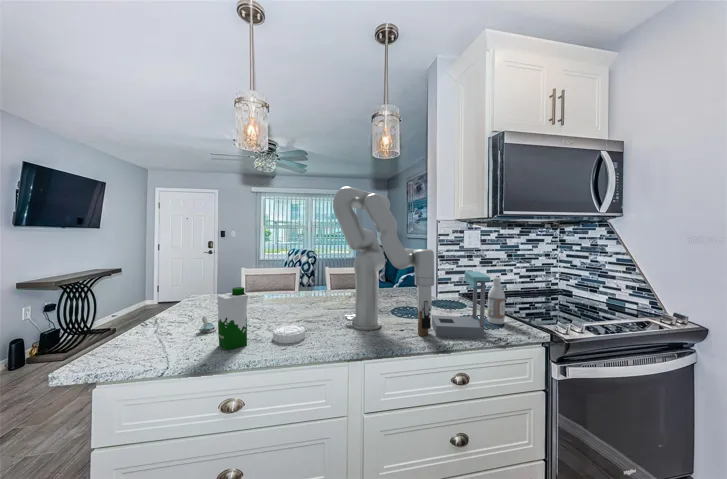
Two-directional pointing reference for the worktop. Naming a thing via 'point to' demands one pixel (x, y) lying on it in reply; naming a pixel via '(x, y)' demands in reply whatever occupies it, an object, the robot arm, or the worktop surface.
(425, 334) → the peg
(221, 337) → the milk carton
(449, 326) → the socket block
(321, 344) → the worktop surface
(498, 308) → the bath foam
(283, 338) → the mooncake
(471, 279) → the teal-topped post gate
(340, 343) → the worktop surface
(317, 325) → the worktop surface
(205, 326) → the pacifier
